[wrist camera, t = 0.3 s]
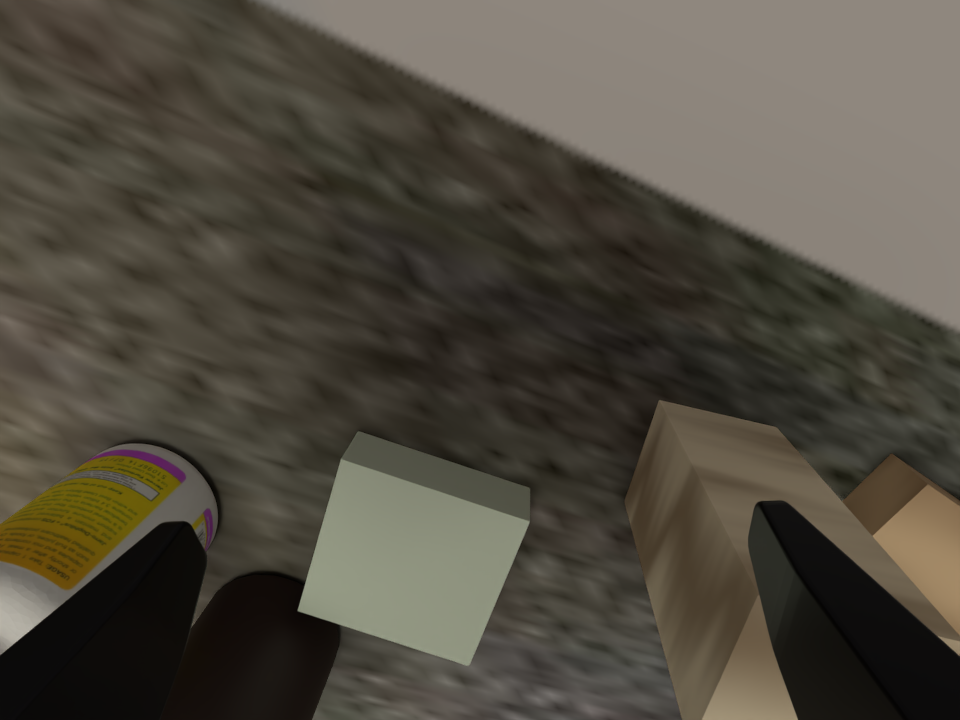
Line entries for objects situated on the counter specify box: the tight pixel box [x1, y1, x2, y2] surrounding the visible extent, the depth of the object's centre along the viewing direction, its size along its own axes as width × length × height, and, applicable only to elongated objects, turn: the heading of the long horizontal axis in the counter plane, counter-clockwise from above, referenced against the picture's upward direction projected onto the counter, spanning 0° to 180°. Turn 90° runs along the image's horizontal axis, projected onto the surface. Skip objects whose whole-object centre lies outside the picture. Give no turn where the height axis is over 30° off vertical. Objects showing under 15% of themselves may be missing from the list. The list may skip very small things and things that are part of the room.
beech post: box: [624, 400, 960, 720], centre depth 21 cm, size 5×5×12 cm
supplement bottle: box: [0, 443, 218, 655], centre depth 24 cm, size 7×7×13 cm
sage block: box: [298, 431, 530, 666], centre depth 28 cm, size 8×8×3 cm
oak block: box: [842, 453, 960, 656], centre depth 28 cm, size 12×12×3 cm
